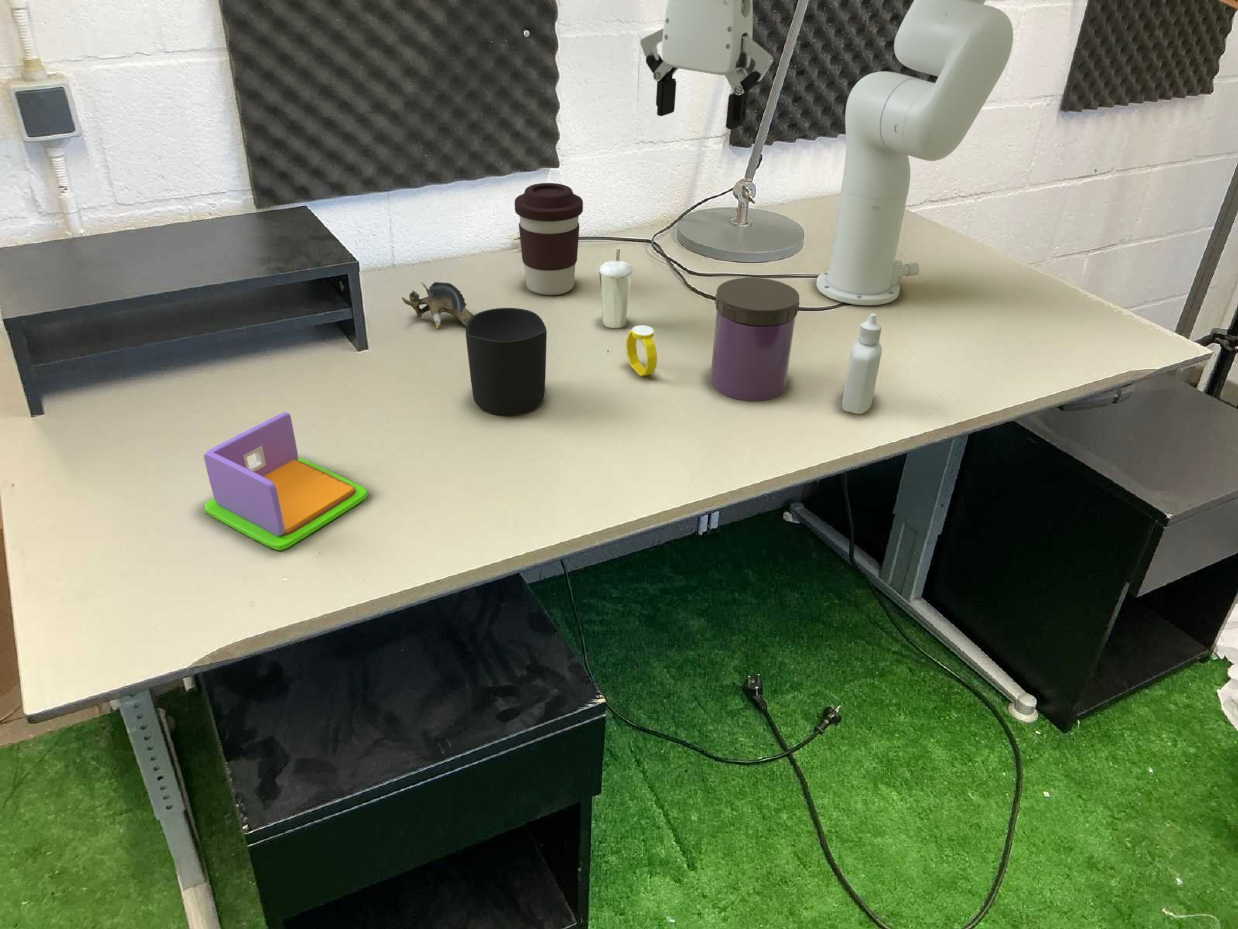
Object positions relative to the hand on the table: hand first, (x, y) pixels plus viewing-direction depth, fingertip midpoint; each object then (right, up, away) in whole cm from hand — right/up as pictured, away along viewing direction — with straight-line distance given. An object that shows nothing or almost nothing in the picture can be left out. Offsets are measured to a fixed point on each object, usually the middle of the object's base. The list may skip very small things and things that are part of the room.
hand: (699, 120), depth 118 cm
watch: (-7, -30, +6) cm, 32 cm away
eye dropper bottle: (+19, -35, 0) cm, 40 cm away
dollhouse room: (-44, -46, -20) cm, 67 cm away
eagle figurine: (-34, -23, +17) cm, 45 cm away
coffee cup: (-20, -15, +29) cm, 38 cm away
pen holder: (-23, -34, -1) cm, 42 cm away
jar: (+7, -32, +4) cm, 33 cm away
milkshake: (-10, -22, +19) cm, 31 cm away
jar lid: (+7, -22, -2) cm, 23 cm away
